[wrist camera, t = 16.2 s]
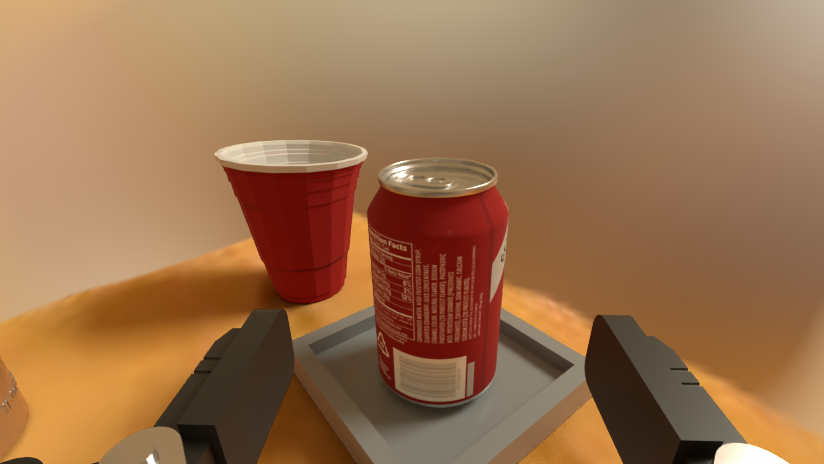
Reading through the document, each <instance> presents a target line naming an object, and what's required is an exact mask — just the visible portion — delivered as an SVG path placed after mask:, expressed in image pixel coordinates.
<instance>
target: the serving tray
mask: <svg viewBox="0 0 824 464" xmlns="http://www.w3.org/2000/svg"><path fill="white" fill-rule="evenodd" d="M292 344H293V350H294V356H295V363H294V371H293V373H294V374H295V376H296V377H297V378H298V380H299V381H300V383H301V384H302V386H303V387H304V389H305V390H306V391H307V393H308V394H309V396H310V397H311V399H312V400H313V402H314V403H315V405H316V406H317V407H318V409H319V410H320V412H321V413H322V415H323V416H324V418H325V419H326V420H327V422H328V423H329V425H330V426H331V428H332V429H333V431H334V432H335V434H336V435H337V436H338V438H339V439H340V441H341V442H342V444H343V445H344V447H345V448H346V449H347V451H348V452H349V454H350V455H351V457H352V458H353V460H354V461H355V463H356V464H517V463H519V462H520V461H521V460H522V459H523V458H524V457H525V456H526V455H527V454H529V453H530V452H531V451H532V450H533V449H534V448H535V447H536V446H538V445H539V444H540V443H541V442H542V441H543V440H544V439H545V438H546V437H548V436H549V435H550V434H551V433H552V432H553V431H554V430H555V429H556V428H558V427H559V426H560V425H561V424H562V423H563V422H564V421H565V420H566V419H568V418H569V417H570V416H571V415H572V414H573V413H574V412H575V411H576V410H578V409H579V408H580V407H581V406H582V405H583V404H584V403H585V402H586V401H588V400H589V399H590V398H591V397H592V394H591V392H590V390H589V388H588V385H587V382H586V378H585V369H584V365H585V358H586V357H584V356H582V355H581V354H579V353H577V352H576V351H574V350H572V349H571V348H569V347H567V346H565V345H564V344H562V343H560V342H559V341H557V340H555V339H554V338H552V337H550V336H548V335H547V334H545V333H543V332H542V331H540V330H538V329H537V328H535V327H533V326H531V325H530V324H528V323H526V322H525V321H523V320H521V319H520V318H518V317H516V316H514V315H513V314H511V313H509V312H508V311H506V310H504V309H503V308H501V315H500V327H499V339H498V351H497V363H496V373H495V376H494V379H493V381H492V383H491V384H490V386H489V387H488V388H487V390H486V391H485V392H484V393H482V394H481V395H480V396H478V397H477V398H475V399H473V400H471V401H469V402H467V403H464V404H461V405H458V406H453V407H446V408H433V407H425V406H420V405H417V404H413V403H411V402H408V401H406V400H404V399H402V398H401V397H399V396H397V395H396V394H395V393H394V392H392V391H391V390H390V389H389V388H388V386H387V385H386V384H385V382H384V381H383V379H382V377H381V374H380V371H379V363H378V349H377V336H376V323H375V310H374V305H373V306H371V307H369V308H366V309H364V310H362V311H359V312H357V313H355V314H352V315H350V316H348V317H346V318H343V319H341V320H339V321H336V322H334V323H332V324H329V325H327V326H325V327H322V328H320V329H318V330H316V331H313V332H311V333H309V334H306V335H304V336H302V337H299V338H297V339H295V340H293V341H292Z"/></svg>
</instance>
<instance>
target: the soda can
mask: <svg viewBox="0 0 824 464" xmlns="http://www.w3.org/2000/svg"><path fill="white" fill-rule="evenodd" d="M378 180H379V184H380V185H381V187H380V189H379V190H378V192H377V194H376V195H375V197H374V198H373V200H372V202H371V203H370V205H369V207H368V212H367V217H368V230H369V244H370V257H371V270H372V283H373V296H374V310H375V323H376V336H377V349H378V363H379V371H380V374H381V377H382V379H383V381H384V382H385V384H386V385H387V386H388V388H389V389H390V390H391V391H392V392H394V393H395V394H396V395H397V396H399V397H401V398H402V399H404V400H406V401H408V402H411V403H413V404H417V405H420V406H425V407H433V408H446V407H453V406H458V405H461V404H464V403H467V402H469V401H471V400H473V399H475V398H477V397H478V396H480V395H481V394H482V393H484V392H485V391H486V390H487V388H488V387H489V386H490V384H491V383H492V381H493V379H494V376H495V373H496V363H497V351H498V339H499V327H500V315H501V302H502V290H503V278H504V266H505V252H506V241H507V229H508V217H509V213H508V208H507V205H506V203H505V202H504V200H503V198H502V197H501V195H500V193H499V192H498V190H497V189H496V187H495V184H496V182H497V172H496V170H495V169H493V168H492V167H491V166H489V165H486V164H483V163H480V162H477V161H472V160H466V159H458V158H421V159H412V160H406V161H401V162H397V163H394V164H391V165H389V166H387V167H385V168H383V169H382V170H381V171H380V172H379V174H378Z"/></svg>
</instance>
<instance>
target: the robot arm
mask: <svg viewBox="0 0 824 464" xmlns="http://www.w3.org/2000/svg"><path fill="white" fill-rule="evenodd" d="M294 363H295V356H294V350H293V344H292V338H291V333H290V327H289V321H288V316H287V313H286V311H285V310H284V309H255V310H253V311H252V312H251V314H250V315H249V317H248V318H247V320H246V321H245V323H244V324H243V326H242V327H241V328H232V329H231V330H230V331H228V332H227V333H226V334H224V335H223V336H222V337H220V338H219V339H218V340H217V341H215V342H214V344H213V345H212V347H211V348H210V349H209V351H208V352H207V353H206V355H205V356H204V360H203V361H202V360H201V362H200V363H199V364H198V366H197V367H196V369H195V370H194V374H191V375H190V377H189V378H188V380H187V381H186V382H185V384H184V385H183V386H182V388H181V389H180V391H179V392H178V393H177V395H176V396H175V398H174V399H173V400H172V402H171V403H170V404H169V406H168V407H167V409H166V410H165V411H164V413H163V414H162V415H161V417H160V418H159V420H158V421H157V422H156V424H155V425H154V426H153V427H152V428H148V429H144V430H141V431H139V432H136V433H134V434H132V435H130V436H128V437H127V438H125V439H123V440H122V441H120V442H119V443H118V444H116V445H115V446H114V447H113V448H112V449H110V450H109V451H108V452H107V453H106V455H105V456H104V457H103V458H102V459H101V461H100V462H97V463H93V464H256V463H257V461H258V458H259V456H260V453H261V451H262V449H263V446H264V444H265V441H266V439H267V437H268V434H269V432H270V429H271V427H272V425H273V422H274V420H275V417H276V415H277V413H278V410H279V408H280V405H281V403H282V401H283V398H284V396H285V393H286V391H287V389H288V386H289V384H290V381H291V379H292V376H293V371H294ZM584 369H585V378H586V382H587V385H588V388H589V390H590V392H591V394H592V397H593V399H594V401H595V403H596V405H597V408H598V410H599V412H600V414H601V416H602V418H603V421H604V423H605V425H606V427H607V429H608V432H609V434H610V436H611V438H612V440H613V442H614V445H615V447H616V449H617V451H618V453H619V456H620V458H621V460H622V462H623V464H788V463H787V462H785V461H784V460H782V459H781V458H779V457H777V456H776V455H774V454H772V453H770V452H768V451H766V450H763V449H761V448H758V447H755V446H752V445H749V444H748V443H747V442H746V441H745V440H744V438H743V437H742V436H741V435H740V433H739V432H738V431H737V430H736V428H735V427H734V426H733V425H732V423H731V422H730V421H729V420H728V418H727V417H726V416H725V414H724V413H723V412H722V411H721V409H720V408H719V407H718V406H717V404H716V403H715V402H714V401H713V399H712V398H711V397H710V396H709V394H708V393H707V392H706V390H705V389H704V388H703V387H700V385H699V382H698V380H697V379H696V378H695V377H694V375H693V374H692V373H691V372H688V368H687V367H686V365H685V364H684V363H683V361H682V360H681V359H680V358H679V356H678V355H677V354H676V353H675V351H673V350H672V349H671V348H669V347H668V346H666V345H665V344H664V343H662V342H661V341H659V340H658V339H657V338H656V337H654V336H646V335H645V334H644V332H643V331H642V330H641V328H640V327H639V325H638V324H637V323H636V321H635V320H634V319H633V318H632V317H631V316H629V315H597V316H596V317H595V319H594V322H593V326H592V331H591V335H590V340H589V344H588V349H587V354H586V358H585V365H584ZM28 416H29V413H28V405H27V403H26V401H25V399H24V398H23V396H22V394H21V392H20V390H19V389H18V387H17V383H16V381H15V379H14V377H13V376H12V374H11V372H10V371H9V370H8V369H7V368H6V366H5V364H4V362H3V361H2V359H1V357H0V460H1V459H2V458H3V457H4V455H5V454H6V453H7V452H8V451H9V450H10V449H11V447H12V446H13V445H14V444H15V443H16V441H17V439H18V438H19V436H20V435H21V433H22V431H23V430H24V428H25V425H26V422H27V419H28ZM0 464H43V463H42V462H41V461H40V460H38V459H36V458H32V457H23V458H16V459H12V460H9V461H5V462H2V463H0Z"/></svg>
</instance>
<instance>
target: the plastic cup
mask: <svg viewBox="0 0 824 464" xmlns="http://www.w3.org/2000/svg"><path fill="white" fill-rule="evenodd" d="M367 154H368V153H367V151H366V150H365V149H364V148H361V147H359V146H356V145H352V144H345V143H339V142H330V141H315V140H278V141H260V142H252V143H245V144H237V145H233V146H229V147H225V148H221V149H220V150H218V151H217V152H216V153H214V156H215V158H216V160H217V161H218V162H219V163H220V164H221V165H222V167H223V168H224V171H225V172H226V173H227V177H228V180H229V182H230V183H231V185H232V187H233V191H234V194H235V196H236V197H237V198H238V201H239V203H240V206H241V208H242V211H243V214H244V216H245V219H246V222H247V224H248V226H249V229H250V232H251V234H252V237H253V240H254V242H255V245H256V247H257V250H258V253H259V255H260V258H261V260H262V261H263V262H264V264H265V267H266V269H267V272H268V275H269V277H270V280H271V282H272V285H273V287H274V288H275V290H276V291H277V293H278V295H279V296H280V298H281V299H283V300H286V301H288V302H290V303H301V304H306V303H313V302H319V301H321V300H324V299H327V298H330V297H332V296H333V295H335V294H336V293H337V292H339V291H340V290H341V288H342V287H343V285H344V280H345V278H346V268H347V254H348V250H349V245H350V234H351V224H352V214H353V203H354V192H355V190H356V185H357V178H358V177H359V171H360V168H361V165H362V163H363V160H365V159H366V157H367Z"/></svg>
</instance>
